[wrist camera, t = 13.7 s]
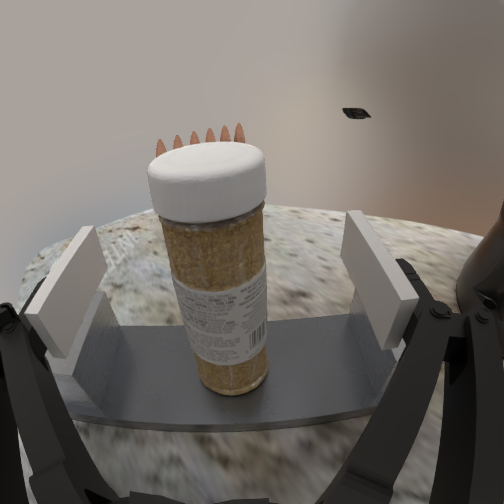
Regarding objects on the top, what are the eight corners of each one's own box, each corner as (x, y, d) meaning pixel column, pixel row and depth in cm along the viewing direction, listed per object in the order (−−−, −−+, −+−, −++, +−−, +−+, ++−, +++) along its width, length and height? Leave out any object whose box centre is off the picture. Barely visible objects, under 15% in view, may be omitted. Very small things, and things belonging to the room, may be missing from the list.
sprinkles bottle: (229, 332, 21) (205, 135, 14) (283, 362, 19) (288, 145, 11) (183, 373, 18) (123, 163, 11) (238, 412, 16) (202, 179, 8)
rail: (388, 318, 23) (405, 268, 20) (424, 399, 16) (457, 353, 13) (86, 334, 22) (61, 287, 19) (58, 416, 16) (18, 373, 13)
